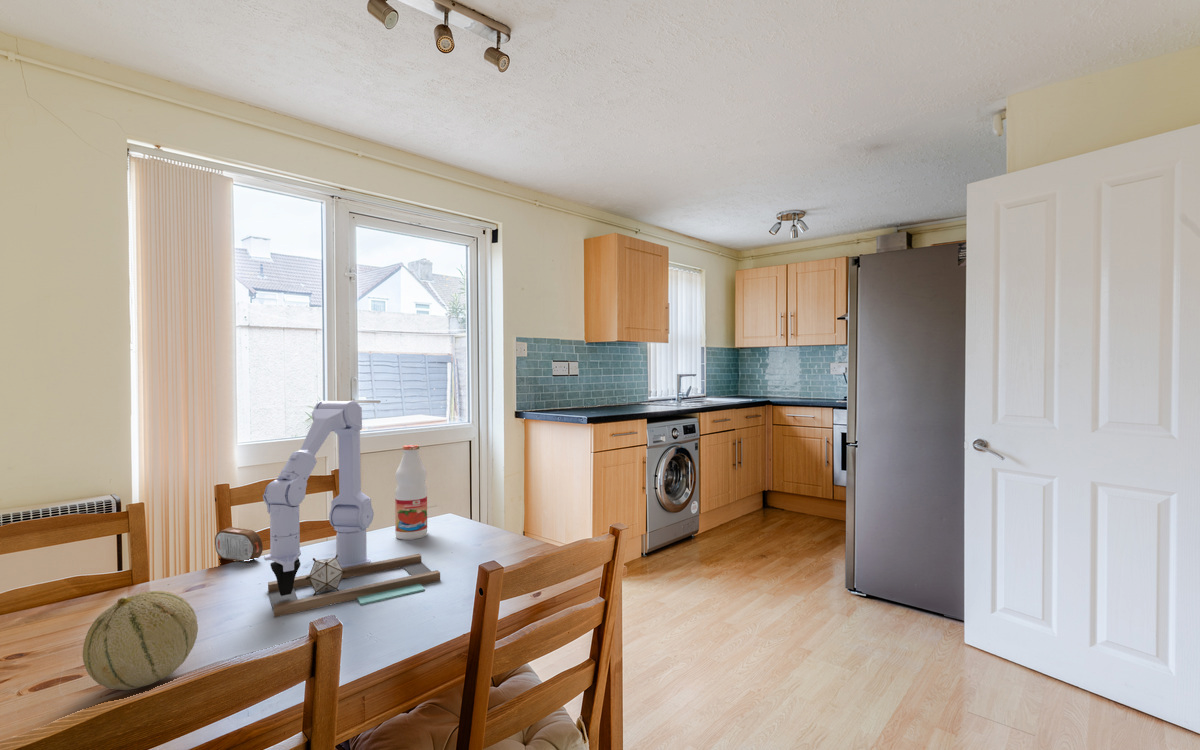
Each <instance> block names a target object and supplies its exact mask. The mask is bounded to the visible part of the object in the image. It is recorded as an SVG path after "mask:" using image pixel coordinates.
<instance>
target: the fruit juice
mask: <svg viewBox="0 0 1200 750" xmlns="http://www.w3.org/2000/svg"><path fill="white" fill-rule="evenodd" d="M401 449H402V452H403V454H402V457H401V460H400V462H399V466H398V467H397V469H396V471H395V475H394V476H395V482H396V488H395V491H394V499H395V500H394V512H395V513H394V515H395V517H394V522H395V524H394V526H395V529H394V530H395V532H394V533H395V538H397V539H399V540H404V541H411V540H418V539H421V538H424V537H425V536H427V534H428V489H427V485H426V479H427V470H426V468H425V466H424V464H423V461H422V460H421V456H420V454H419V451H420V445H419V444H404V445H403V446H402V448H401Z"/></svg>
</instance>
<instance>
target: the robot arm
mask: <svg viewBox="0 0 1200 750" xmlns="http://www.w3.org/2000/svg"><path fill="white" fill-rule="evenodd" d="M311 417H312V424H311V426H310V428H309V430H308V431H307V434H306V436H305V438H304V440H303V443H302V445H301V447H300V448H299V450H296V451H293V452H292V453H291V454H290V456H289V458H288V460H287V461H286V463H285V464H284V466H283V467H282V470H281V471H280V473H279V475H278V476H277V478H276V479H274V480H273V481H271V482H270V483H268V484H267V485H266V487H265V490H264V494H262V500H263V502H264V504H265V505H266V509H267V513H268V514H269V527H270V528H269V530H270V531H269V533H270V534H269V537H270V538H269V539H270V540H269V542H270V548H269V549H270V550H269V551H270V554H265V555H264V558H263V559H264V560H265V561H272V562H271V563H269V564H270V568H271V570H272V573H273V574H274V576H275V578H276V581H277V583H278V588H279V592H280V595H281V596H284V595H289V594H291V593H292V589H293V584H294V579H295V577H297V572H298V571H299V569H300V567H301V561H300V556H301V555H302V552H301V546H300V544H301V543H300V542H301V539H300V538H301V537H300V534H301V533H300V529H301V528H300V504H301V503H302V502H303V501H304V499H305V497H306V493H307V492H306V489H307V486H308V482H307V481H308V479H309V478H310V476H311V474H312V472H313V470H314V469H315V467H316V465H317V458H316V455H317V453H318V451H319V450H320V449H321V447H322V445H323V444H324V443H325V441H326V439H328V437H329V436H330V434H331V432H333V433H335V434H336V435H337V436H338V477H339V478H338V482H339V483H338V485H339V487H338V489H339V494H338V495H337V496H336V497H334V498H333V499H332V500H331V502H330V503H331V506H330V511H329V515H328V520H329V524H330V525H331V527H333V531H335V532H336V536H335V543H336V544H335V546H336V547H335V548H336V549H335V550H336V551H335V553H336V555H337V554H338V557H337V560H338V562H339V564H340V566H341V568H346V567H351V566H357V565H362V564H367V563H372V561H371V559H370V558H369V557H368V556H367V554H368V553H367V552H368V551H367V529H368V528H369V527H370V526H371V524H372V522H373V520H374V516H375V515H374V513H375V512H374V509H373V506H372V498H371V497H369V495H367V494H365V493H363V491H362V479H361V477H362V476H361V474H362V473H361V471H362V470H361V468H362V467H361V431H362V429H363V409H362V407H361V405H359V403H358V402H357V401H356V400H348V401H346V400H343V401H341V400H320V401H318V402H317V403H316V404H315V406H314V409H313V410H312V412H311ZM336 555H335V556H336ZM335 556H333V557H332V558H335Z"/></svg>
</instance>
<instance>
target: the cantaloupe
mask: <svg viewBox="0 0 1200 750" xmlns="http://www.w3.org/2000/svg"><path fill="white" fill-rule="evenodd" d="M198 632H199V625H198V620H197V615H196V613H195V610H194V609H193V607H192V606H191V604H190V603H189V602H188V601H187V600H186V599H184V598H183V597H181V596H179V595H178V594H176V593H173V592H170V591H166V590H165V591H163V590H154V591H153V590H151V591H150V590H148V591H144V592H138V593H137V594H133V595H130V596H128V597H120V598H118V599H117V602H115V603H114V604H113V605H111V606H110V607H108V608H106V610H104V611H103V612H101V614H100V615H99V616H98V617H96V619H95V620H94V622H92V624H91V626H90V627H89V629H88V631H87V633H86V636H85V638H84V641H83V647H82V662H83V665H84V667H85V670H86V672H87V674H88V675H89V677H90V678H91V679H92V680H93V681H94V682H95V683H97V684H98V685H100V686H103V687H105V688H107V689H113V690H117V691H118V690H121V691H122V690H124V691H129V690H134V689H139V688H142V687H146V686H150V685H152V684H154V683H156V682H159V681H161V680H163V679H165V678H167V677H168V676H170V675H172V674H173V673H174V672H176V671H177V669H178V668H179V667H181V665H182V664H184V662H185V661H186V659H187V658H188V657H189V655H190V654H191V652H192V650H193V648H194V646H195V643H196V640H197V637H198Z"/></svg>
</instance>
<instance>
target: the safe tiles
mask: <svg viewBox="0 0 1200 750" xmlns="http://www.w3.org/2000/svg"><path fill="white" fill-rule="evenodd" d="M424 591H426V588H425V587H423V585H421V584H415V585H411V586H406V587H402V588H397V589H393V590H388V591H383V592H379V593H374V594H370V595H365V596H361V597H357V599H356V600H357V602H358V603H359V605H360V606H363V605H368V604H372V603H376V602H381V600H382V601H385V600H390V599H394V597H395V598H398V596H399V597H403V596H402V595H404V596H408V595H412V594H416V593H421V592H424ZM407 594H408V595H407Z"/></svg>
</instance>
